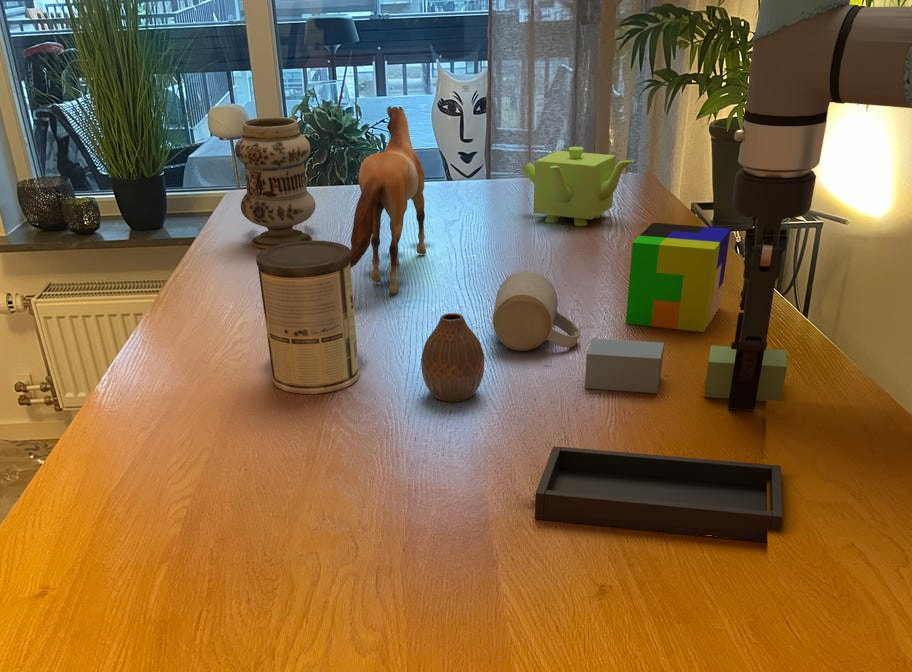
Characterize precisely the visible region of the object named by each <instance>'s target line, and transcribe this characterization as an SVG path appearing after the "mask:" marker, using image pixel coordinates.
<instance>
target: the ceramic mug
mask: <svg viewBox="0 0 912 672" xmlns="http://www.w3.org/2000/svg"><path fill="white" fill-rule="evenodd" d="M558 301H559V300H558V294H557V291H556V289H555V287H554V285H553V284H552V283H551V281H550V280H549V279H548V278H547V277H545V276H544V275H542V274H540V273H538V272H536V271H531V270H522V271H517V272H514V273H513V274H510V275H509V276H508V277H506V278H505V279H504V280H503V282H502V283H501V285H500V286H499V288H498V290H497V292H496V298H495V301H494V307H493V312H492V325H493V330H494V333H495V335H496V337H497V339H498V340H499V341H500V342H501V344H503V345H504V346H505V347H507V348H508V349H510V350H513V351H519V352H528V351H532V350H534V349H536V348H538V347H539V346H541V345H542V344H543V343H544V342H545V341H547V342H550V343H551V344H554V345H556V346H558V347H562V348H573V347H574V346H576V344H577V342H578V340H579V339H580V337H581V330H580V328H579V327H578V326H577V325H576V323H574V321H572V320H571V319H569V318H568V317H567V316H565V315H564V314H562V313H560V312H558V306H559V302H558ZM553 326H555V327H557V328H559V329H560V330H562V331H563V332H564V333H563V332H560V331H557V330H556V329H553ZM565 333H566V334H565Z"/></svg>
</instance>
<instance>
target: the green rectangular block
mask: <svg viewBox="0 0 912 672" xmlns="http://www.w3.org/2000/svg"><path fill="white" fill-rule="evenodd" d="M736 350H737V349H731V346H726V345H724V346H723V345H710V346H709V353H708V361H707V367H706V375H705V383H704V384H705V385H704V390H703V391H704V393H703V398H712V399H713V398H714V399H727V400H729V396H730V389H731V383H732V376H733V369H734V363H735V356H736ZM787 361H788V360H787V350H786V349H774V348H773V349H772V348H766V350H765V351H764V356H763V362H762V368H761V374H760V380H759V385H758V391H757V397H756V402H767V401H775V402H781V401H782V396H783V390H784V386H785V381H786V374H787V370H788V362H787Z"/></svg>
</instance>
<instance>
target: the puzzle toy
mask: <svg viewBox="0 0 912 672" xmlns="http://www.w3.org/2000/svg"><path fill="white" fill-rule="evenodd" d="M730 237H731V228H730V227H729V228H727V227H714V226H704V225H703V226H702V225H691V224H690V225H689V224H676V223H663V222H652V223H651V224H649V225H648V227H646V229H644V230H643V231H642V233H640V234H639V235H638V236H637V237H636V239H634V240H633V242H632V244H631V257H630V265H629V266H630V267H629V279H628V289H627V303H626V314H625V324H626V325H636V326H646V327H652V328H653V327H654V328H663V329H671V330H679V331H680V330H681V331H687V332H689V331H691V332H697V331H698V332H699V333H705V331H706V330H707V328H708V327H709V325H710V323H711V322H712V320H713V319H714V317H715V316H716V314H717V313H718V312H719V310H720V308H721V301H722V293H723V287H724V280H725V272H726V265H727V259H728V251H729V244H730ZM718 309H719V310H718ZM716 312H717V313H716ZM714 315H715V316H714ZM705 329H706V330H705Z"/></svg>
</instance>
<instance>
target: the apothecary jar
mask: <svg viewBox="0 0 912 672" xmlns="http://www.w3.org/2000/svg"><path fill="white" fill-rule="evenodd" d="M310 153H311V145H310V142H309V140H308V139H307V138H306V136H304V135H303V134H302V133H301V132H300V129H299V123H298V120H296V119H295V118H292V117H283V116H263V117H255V118H251V119H247V120H245V121H243V122H242V133H241V137H240V138H239V139H238V140H237V142H236V143H235V146H234V154H235V157H236V158H237V160H238V161H239V162H240V163H242V164H243V167H244V171H245V182H246V193H245V195H244V196H243V197H242V199H241V201H240V211H241V214H242V215H243V217H245V218H246V219H247V220H248V221H249V222H250V223H252V224H254V225H256V226H260V227H264V228H266V229H267V230H265V231H263V232H261V233H260V234H258V235H256V236H255V237H253V239H252V241H251V244H252V246H253V247H255V248H257V249H262V250H264V249H266V248H268V247H271V246H275V245H278V244H282V243H289V242H296V241H313V238H312V236H311V235H309V234H308V233H305V232H303V231H302V230H299V229H295V228H294V226H297V225H299V224H300V225H301V224H302V223H304V222H306V221H307V220H308V219H310V218H311V217H312V216H313V214H314V213H315V211H316V206H317V205H316V199H315V198H314V196H313V195H312V194H311V192H309V191H308V189H307V181H306V172H305V171H306V169H305V160H307V159H308V158H309V156H310Z"/></svg>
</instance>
